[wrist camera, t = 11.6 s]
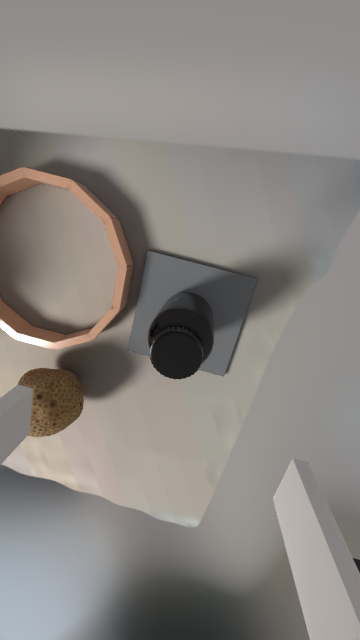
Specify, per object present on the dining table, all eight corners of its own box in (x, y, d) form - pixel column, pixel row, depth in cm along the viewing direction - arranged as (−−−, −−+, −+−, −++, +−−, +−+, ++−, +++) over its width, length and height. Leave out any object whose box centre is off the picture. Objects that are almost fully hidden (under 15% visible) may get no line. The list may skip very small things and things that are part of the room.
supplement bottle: (168, 284, 33) (148, 307, 21) (219, 300, 33) (227, 331, 21) (155, 332, 35) (130, 376, 23) (203, 347, 35) (202, 398, 23)
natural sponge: (97, 410, 40) (64, 462, 31) (43, 402, 41) (-6, 451, 31) (97, 358, 37) (60, 397, 28) (39, 351, 38) (-17, 387, 29)
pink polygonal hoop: (-21, 318, 37) (-40, 324, 34) (-22, 158, 31) (-45, 149, 28) (117, 355, 37) (109, 364, 34) (145, 201, 31) (139, 196, 28)
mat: (128, 348, 36) (127, 350, 36) (148, 250, 32) (147, 250, 32) (223, 374, 36) (223, 376, 36) (256, 278, 32) (257, 279, 31)
